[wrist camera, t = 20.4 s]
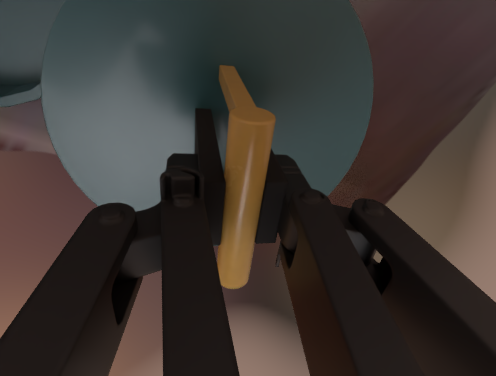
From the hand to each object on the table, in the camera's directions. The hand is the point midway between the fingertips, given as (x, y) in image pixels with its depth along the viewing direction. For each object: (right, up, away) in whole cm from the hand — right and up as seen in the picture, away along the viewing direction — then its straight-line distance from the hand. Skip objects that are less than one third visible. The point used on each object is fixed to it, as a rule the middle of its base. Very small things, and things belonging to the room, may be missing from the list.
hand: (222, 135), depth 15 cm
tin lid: (0, 0, +1) cm, 1 cm away
